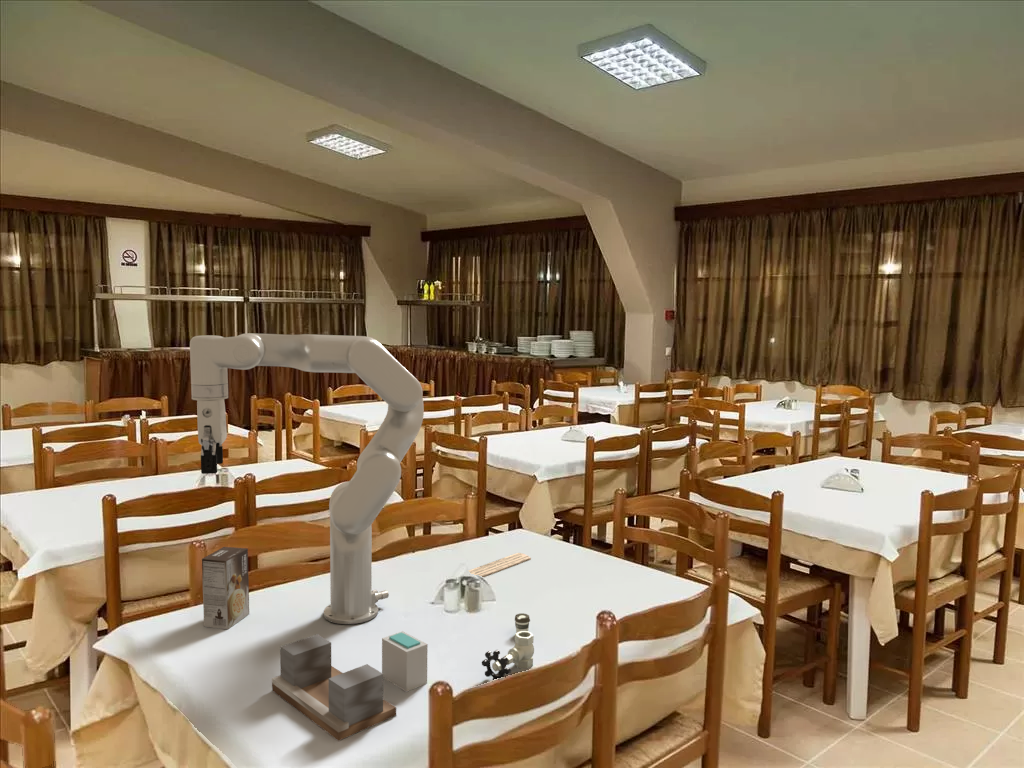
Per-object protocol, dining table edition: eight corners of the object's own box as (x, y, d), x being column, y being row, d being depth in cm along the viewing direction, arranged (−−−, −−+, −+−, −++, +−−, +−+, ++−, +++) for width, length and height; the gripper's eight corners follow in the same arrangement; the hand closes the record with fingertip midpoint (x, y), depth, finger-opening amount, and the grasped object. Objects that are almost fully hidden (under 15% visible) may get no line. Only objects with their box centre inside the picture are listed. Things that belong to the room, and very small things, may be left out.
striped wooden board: (474, 583, 208) (474, 576, 207) (456, 576, 212) (456, 570, 212) (531, 561, 225) (531, 555, 225) (512, 556, 230) (512, 550, 230)
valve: (516, 656, 164) (481, 678, 155) (517, 626, 163) (481, 646, 154) (542, 666, 160) (507, 688, 151) (543, 635, 160) (508, 656, 150)
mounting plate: (327, 670, 156) (327, 629, 155) (396, 715, 140) (396, 670, 139) (272, 690, 148) (271, 648, 147) (338, 740, 132) (338, 693, 131)
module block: (402, 669, 158) (402, 629, 157) (427, 683, 152) (427, 642, 151) (382, 677, 154) (382, 636, 153) (406, 692, 149) (406, 650, 148)
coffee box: (225, 611, 184) (224, 545, 183) (250, 614, 183) (249, 547, 181) (202, 627, 175) (201, 558, 174) (228, 630, 174) (227, 560, 172)
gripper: (223, 396, 163) (225, 476, 165) (232, 387, 180) (234, 459, 182) (184, 397, 161) (187, 478, 163) (197, 387, 178) (200, 461, 180)
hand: (212, 468), depth 173 cm, fingers open, 9 cm apart
